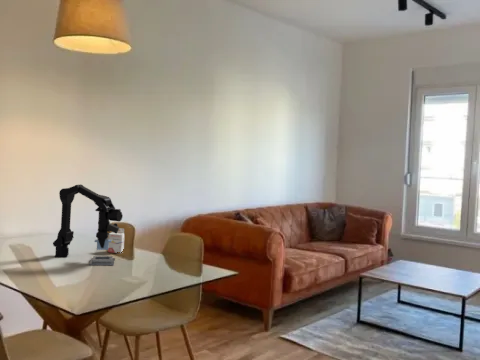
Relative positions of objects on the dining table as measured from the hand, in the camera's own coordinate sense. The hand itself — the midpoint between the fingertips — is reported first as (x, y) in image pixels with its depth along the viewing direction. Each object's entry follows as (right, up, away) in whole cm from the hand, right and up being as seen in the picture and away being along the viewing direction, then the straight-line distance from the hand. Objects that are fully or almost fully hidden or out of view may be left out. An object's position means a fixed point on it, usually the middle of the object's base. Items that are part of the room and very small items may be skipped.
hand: (102, 247), depth 281 cm
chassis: (0, -9, +1) cm, 9 cm away
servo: (0, -1, 0) cm, 1 cm away
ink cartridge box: (+1, -7, +27) cm, 28 cm away
